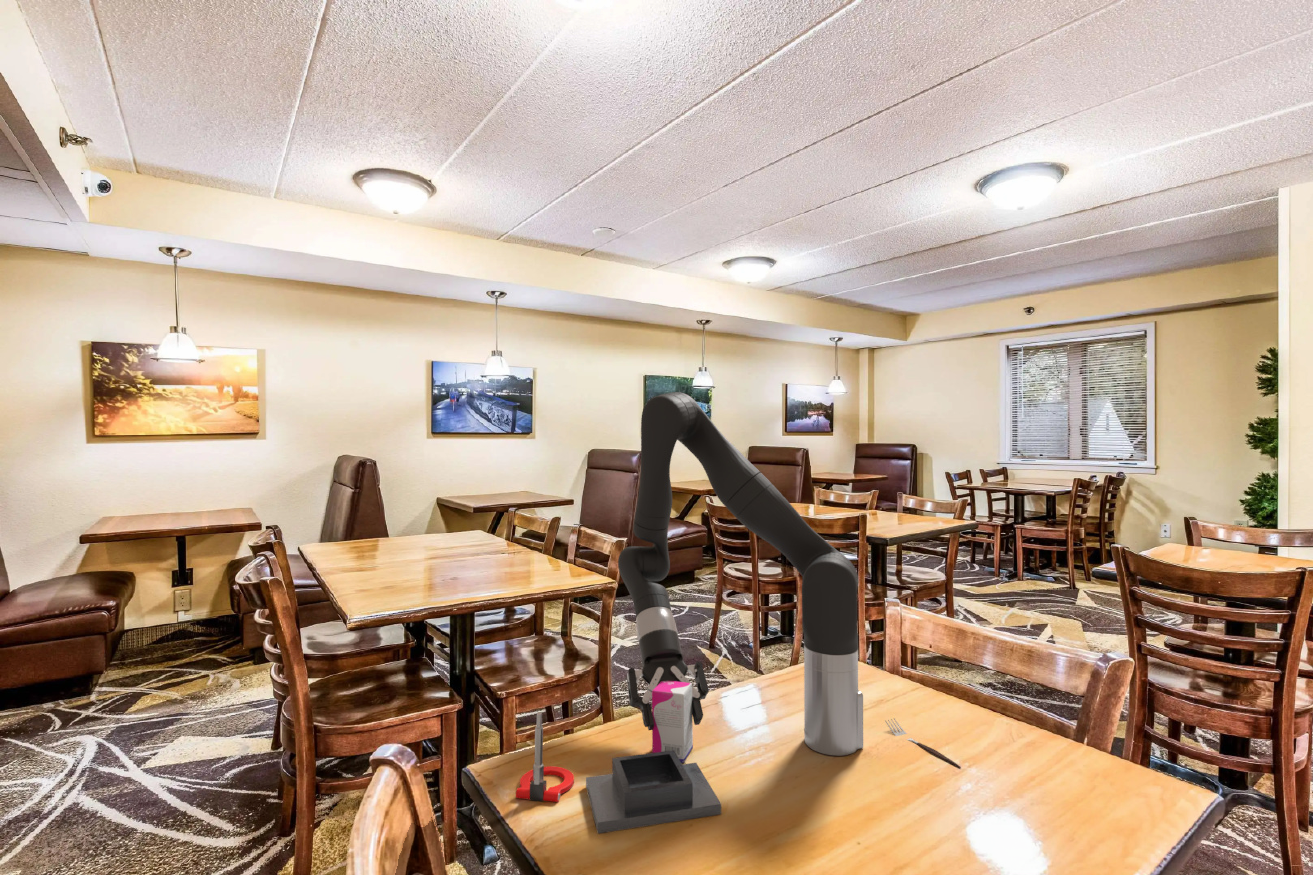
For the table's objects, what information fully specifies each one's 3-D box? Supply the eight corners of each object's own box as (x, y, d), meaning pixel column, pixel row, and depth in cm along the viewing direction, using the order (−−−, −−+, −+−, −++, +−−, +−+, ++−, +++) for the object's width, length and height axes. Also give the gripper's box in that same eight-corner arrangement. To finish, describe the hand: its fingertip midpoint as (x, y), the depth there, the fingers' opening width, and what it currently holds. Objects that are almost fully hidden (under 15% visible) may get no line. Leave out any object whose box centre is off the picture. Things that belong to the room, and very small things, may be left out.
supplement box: (693, 747, 112) (693, 682, 112) (683, 763, 106) (683, 695, 106) (662, 742, 114) (662, 678, 114) (651, 757, 108) (650, 690, 108)
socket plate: (696, 771, 104) (696, 744, 104) (721, 814, 92) (721, 783, 92) (586, 786, 100) (585, 758, 100) (597, 833, 88) (597, 800, 88)
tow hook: (530, 771, 105) (509, 800, 96) (532, 691, 106) (510, 713, 97) (580, 775, 104) (563, 805, 95) (581, 694, 105) (564, 717, 95)
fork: (954, 772, 104) (954, 760, 104) (884, 730, 119) (884, 720, 119) (966, 768, 105) (966, 756, 105) (894, 728, 120) (894, 717, 120)
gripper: (623, 630, 116) (637, 721, 105) (698, 624, 119) (719, 712, 108) (618, 650, 121) (630, 739, 110) (690, 644, 124) (709, 729, 113)
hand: (675, 725), depth 109 cm, fingers closed on supplement box, 8 cm apart
